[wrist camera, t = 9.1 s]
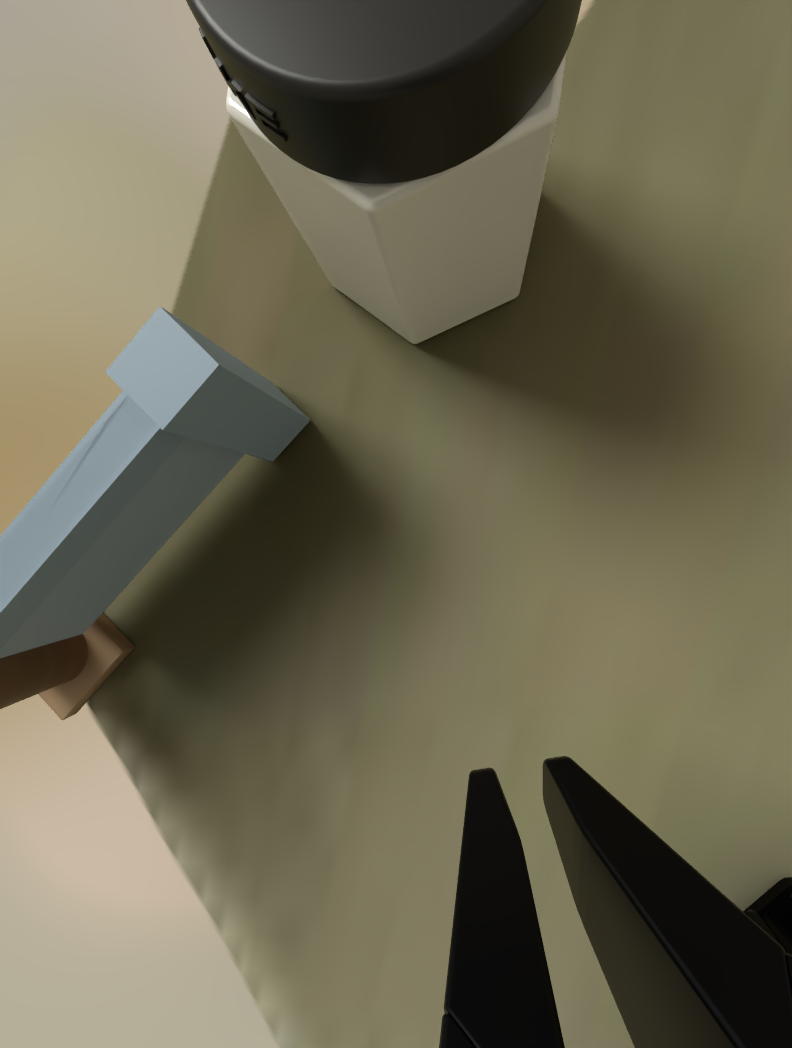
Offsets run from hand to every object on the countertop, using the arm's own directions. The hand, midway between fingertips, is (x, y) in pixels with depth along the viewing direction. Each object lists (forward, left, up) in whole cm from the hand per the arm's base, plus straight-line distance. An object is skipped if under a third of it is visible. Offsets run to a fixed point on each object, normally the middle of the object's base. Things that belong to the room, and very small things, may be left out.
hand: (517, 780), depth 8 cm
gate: (+13, +6, -12) cm, 18 cm away
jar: (+13, -10, -12) cm, 20 cm away
